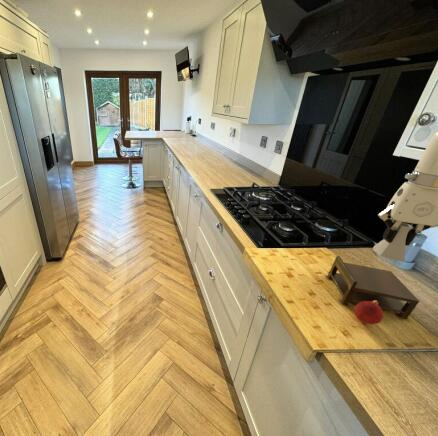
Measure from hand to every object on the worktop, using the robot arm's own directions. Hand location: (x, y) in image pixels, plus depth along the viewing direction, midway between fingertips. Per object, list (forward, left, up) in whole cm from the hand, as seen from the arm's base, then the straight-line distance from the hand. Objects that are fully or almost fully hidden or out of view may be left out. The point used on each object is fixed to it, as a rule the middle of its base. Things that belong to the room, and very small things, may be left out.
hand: (395, 241), depth 68 cm
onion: (+6, +14, -21) cm, 26 cm away
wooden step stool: (+1, +1, -20) cm, 20 cm away
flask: (0, 0, -5) cm, 5 cm away
